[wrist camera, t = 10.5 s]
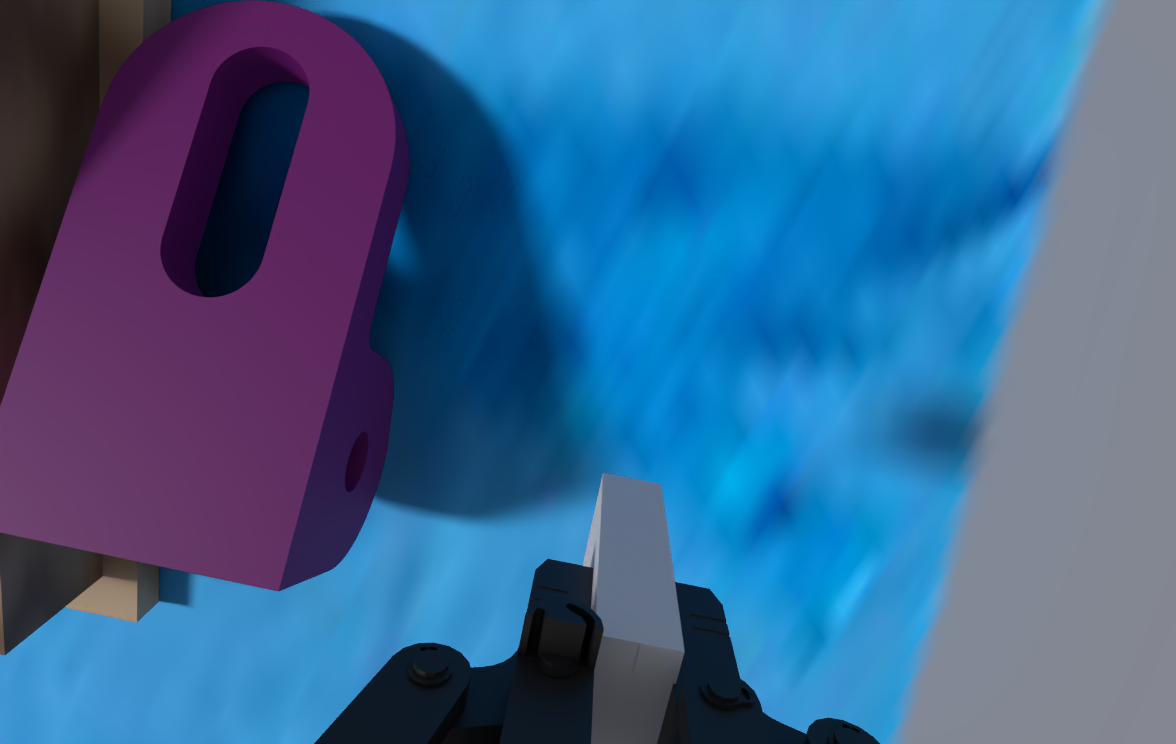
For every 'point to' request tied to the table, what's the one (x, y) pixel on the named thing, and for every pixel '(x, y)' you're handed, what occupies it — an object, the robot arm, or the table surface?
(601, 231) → the table surface
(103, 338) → the mounting bracket
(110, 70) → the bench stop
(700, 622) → the robot arm
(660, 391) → the table surface
